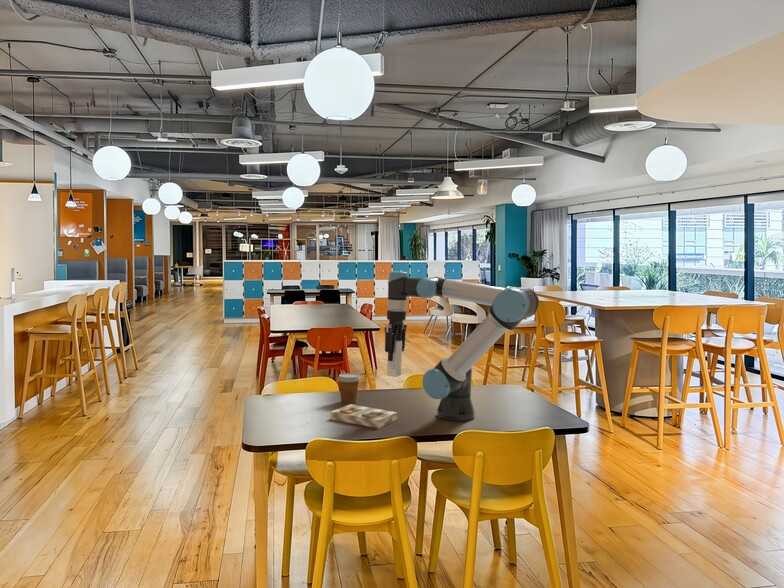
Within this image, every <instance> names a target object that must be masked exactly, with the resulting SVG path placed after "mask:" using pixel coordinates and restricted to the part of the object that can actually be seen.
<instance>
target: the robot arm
mask: <svg viewBox="0 0 784 588" xmlns="http://www.w3.org/2000/svg"><path fill="white" fill-rule="evenodd" d="M387 287H388V288H387V306H386V308H387V309H388V310H386V319H387V320H388V321H389V322H388V326H385V327H384V334H385V335H384V351H385V353H387V364H388V369H395V353H394V348H395V341H396V340H398V341H402V352H404V351H405V347H406V333H407V332H406V331H407V327H408V325H407V324H404V321H406V318H407V311H406V310H407V297H412V298H413V297H414V298H422V299H431V298H433V297H438V298H447V299H452V300H456V301H457V300H458V301H463V302H468V303H474V304H480V305H485V306H490V307H489V308H488V309H487V310H488V311H487V312H488V315H487V316H485V318H484V319H483V320H482V321H481V322H480V323H479V325H477V327H476V328H475V329H473V331H472V332H471V333H470V334H469V335H468V336H467V338H466V339H464V341H463V342H462V343H461V344H460V345H459V346H458V347H457V348H456V349H455V350H454V351H453V353H452V354H451V355H450V356H449V357H446V356H445V357H443V358H442V359H440V361H438V362H437V364H436V365H435V366H434V367H433V368H431V369H428V370H427V371H426V372H425V373H424V375H423V376H422V387H423V390H424V392H425V393H426V394H427V396H428V397H430V398H431V399H434V400H440V401H439V404H438V407H437V409H436V417H438V418H439V419H442V420H444V421H451V422H452V421H453V422H464V421H465V422H466V421H470V420H473V419H474V418H475V409H474V405H473V401H472V397H471V395H472V374H473V373H472V372H473V369H472V367H474V365H475V364H476V363H477V362H478V361H479V360H480V359H481V358H482V357H483V356H484V355H485V354H486V353H487V351H488V350H489V349H490V348H492V346H493V345H494V344H495V343H496V342H498V340H499V339H500V338H501V337H502V336H503V335H504V334H505V333H506V332H508V331H510V332H512V331H514V330H515V329H516V327H518V325H519V324H520V323H521V322H522V321H524V320H525V319H528V318H531V317H532V316H534V315H535V314H536V313H537V311H538V309H539V307H540V298H539V296H538V293H537V292H536V291H535V290H533V289H531V288H530V287H526V286H520V287H519V286H510V285H509V286H507V287H501V286H500V287H499V286H491V285H486V284H481V283H475V282H468V281H461V280H455V279H449V278H444V277H441V276H433V277H411V276H408V272H406V271H394V270H393V271H390V272H389V274H388V280H387Z"/></svg>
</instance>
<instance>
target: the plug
mask: <svg viewBox="0 0 784 588" xmlns="http://www.w3.org/2000/svg"><path fill="white" fill-rule="evenodd" d="M402 352H403V351H402V341H398V340H396V341H395V348H394V353H395V369H388V363H387V367H386V369H387V370H386V371H387V372H386V376H388V377H395V378H396V377H400V376H402V375H401V373H402V354H403V353H402Z"/></svg>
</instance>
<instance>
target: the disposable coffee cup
mask: <svg viewBox="0 0 784 588" xmlns="http://www.w3.org/2000/svg"><path fill="white" fill-rule="evenodd" d="M337 380H338V383H339V393H340V403H341V404H343V405H350V404H352V405H355V404H356V403H357V396H358V388H359V383H360V382H359V381H360V380H361V378H360V375H359V374H358V373H350V372H349V373H345V372H344V373H340V374H339V375H338V377H337Z"/></svg>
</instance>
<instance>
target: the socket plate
mask: <svg viewBox="0 0 784 588" xmlns="http://www.w3.org/2000/svg"><path fill="white" fill-rule="evenodd" d="M330 420H333V421H338V422H342V423H343V422H344V423H349V424H355V425H360V426H365V427H370V428H374V429H380V428H383V427H384V426H387V425H389V424H391V423H393V422H396V421H397V420H398V411H392V410H385V409H381V408H375V407H369V406H362V405H357V404H346V405H345V406H343V407H340V408H337V409H334V410H332V411H330Z"/></svg>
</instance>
